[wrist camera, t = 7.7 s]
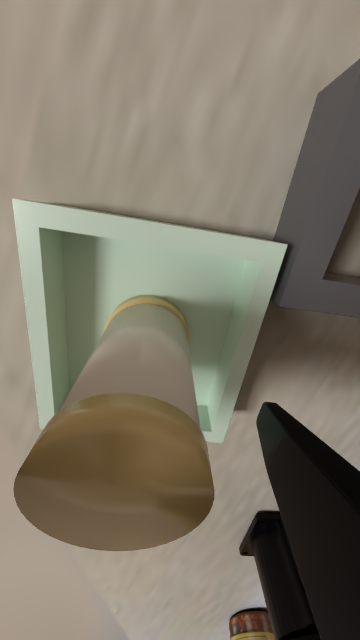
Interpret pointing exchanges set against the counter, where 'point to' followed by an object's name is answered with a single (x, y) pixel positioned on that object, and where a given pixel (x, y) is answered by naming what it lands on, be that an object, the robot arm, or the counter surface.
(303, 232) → the socket block
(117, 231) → the parts tray
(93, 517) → the fuse
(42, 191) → the counter surface
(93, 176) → the counter surface
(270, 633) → the sauce bottle
